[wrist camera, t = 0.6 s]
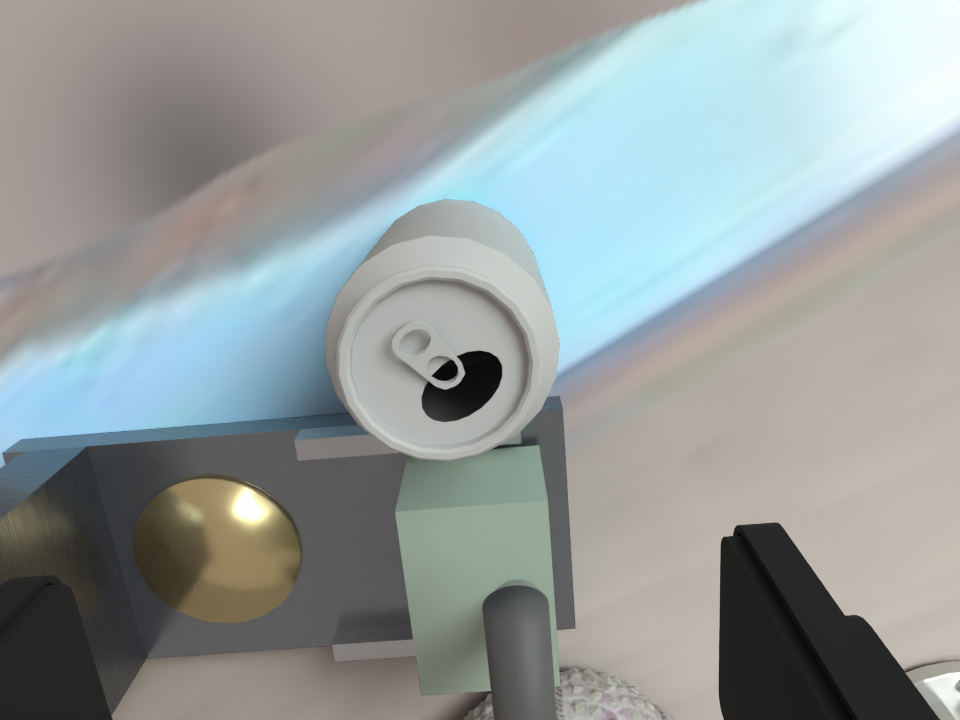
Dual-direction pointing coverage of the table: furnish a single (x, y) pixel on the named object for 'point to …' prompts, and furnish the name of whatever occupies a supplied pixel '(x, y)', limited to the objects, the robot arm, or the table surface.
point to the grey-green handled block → (481, 579)
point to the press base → (234, 536)
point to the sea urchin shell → (591, 699)
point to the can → (444, 334)
